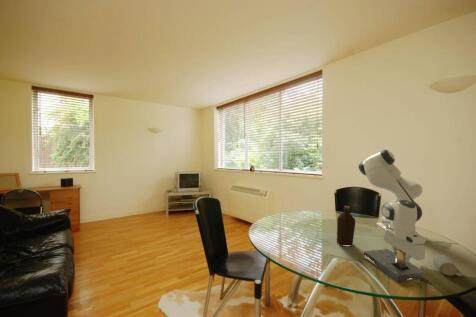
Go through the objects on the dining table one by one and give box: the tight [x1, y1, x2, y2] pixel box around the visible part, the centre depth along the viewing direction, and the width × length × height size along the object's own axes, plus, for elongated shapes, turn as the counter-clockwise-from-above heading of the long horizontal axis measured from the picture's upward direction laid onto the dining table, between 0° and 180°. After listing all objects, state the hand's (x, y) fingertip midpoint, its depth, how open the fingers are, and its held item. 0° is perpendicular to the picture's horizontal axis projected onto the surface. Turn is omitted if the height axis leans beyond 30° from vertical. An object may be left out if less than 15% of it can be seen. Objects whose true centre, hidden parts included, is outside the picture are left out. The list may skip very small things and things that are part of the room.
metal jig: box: [363, 248, 426, 283], centre depth 121 cm, size 22×16×4 cm
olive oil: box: [336, 205, 356, 246], centre depth 145 cm, size 11×11×25 cm
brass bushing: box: [395, 249, 407, 268], centre depth 115 cm, size 4×4×8 cm
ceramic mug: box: [433, 254, 463, 277], centre depth 116 cm, size 11×8×8 cm
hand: (401, 258), depth 115 cm, fingers closed on brass bushing, 4 cm apart
